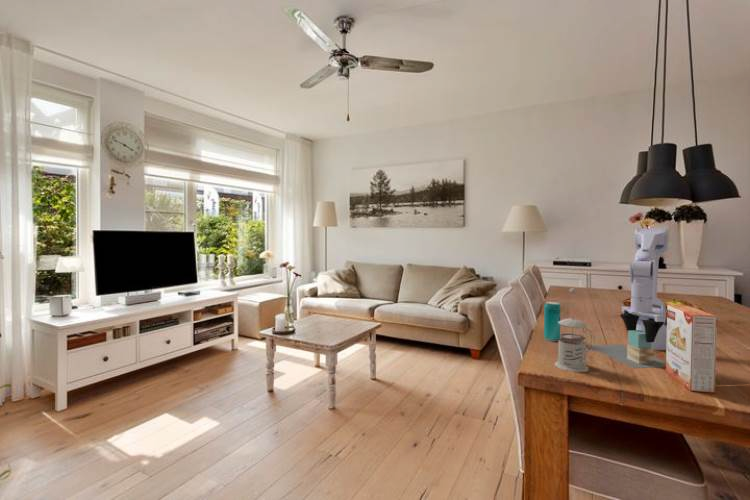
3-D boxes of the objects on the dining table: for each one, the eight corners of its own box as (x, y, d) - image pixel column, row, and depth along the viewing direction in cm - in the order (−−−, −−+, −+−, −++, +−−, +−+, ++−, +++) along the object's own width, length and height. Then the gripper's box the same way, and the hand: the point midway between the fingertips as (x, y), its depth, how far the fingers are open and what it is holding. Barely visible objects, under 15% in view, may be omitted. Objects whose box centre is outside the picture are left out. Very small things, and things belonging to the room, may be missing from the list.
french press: (549, 360, 122) (550, 286, 121) (584, 361, 122) (586, 286, 120) (563, 372, 112) (564, 290, 111) (602, 372, 112) (603, 290, 111)
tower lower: (640, 357, 123) (641, 350, 123) (653, 363, 118) (653, 355, 118) (626, 358, 123) (627, 351, 123) (638, 363, 118) (639, 356, 118)
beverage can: (561, 342, 142) (562, 304, 141) (545, 341, 143) (546, 303, 143) (557, 338, 148) (558, 301, 147) (542, 337, 149) (542, 301, 148)
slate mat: (621, 345, 138) (621, 344, 138) (676, 367, 115) (676, 366, 115) (585, 346, 137) (585, 345, 137) (634, 369, 114) (634, 368, 114)
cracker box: (663, 372, 111) (666, 304, 111) (687, 374, 110) (690, 305, 109) (688, 391, 98) (691, 313, 97) (716, 394, 96) (719, 315, 95)
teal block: (640, 343, 123) (640, 330, 123) (651, 347, 119) (651, 333, 118) (627, 343, 123) (627, 330, 123) (638, 347, 118) (638, 334, 118)
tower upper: (641, 350, 123) (641, 343, 123) (653, 355, 118) (653, 347, 118) (627, 351, 123) (627, 343, 123) (639, 356, 118) (639, 348, 118)
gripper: (613, 294, 127) (612, 332, 127) (648, 301, 112) (647, 345, 113) (633, 293, 127) (632, 332, 128) (670, 301, 113) (668, 344, 113)
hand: (640, 338), depth 120 cm, fingers open, 7 cm apart
